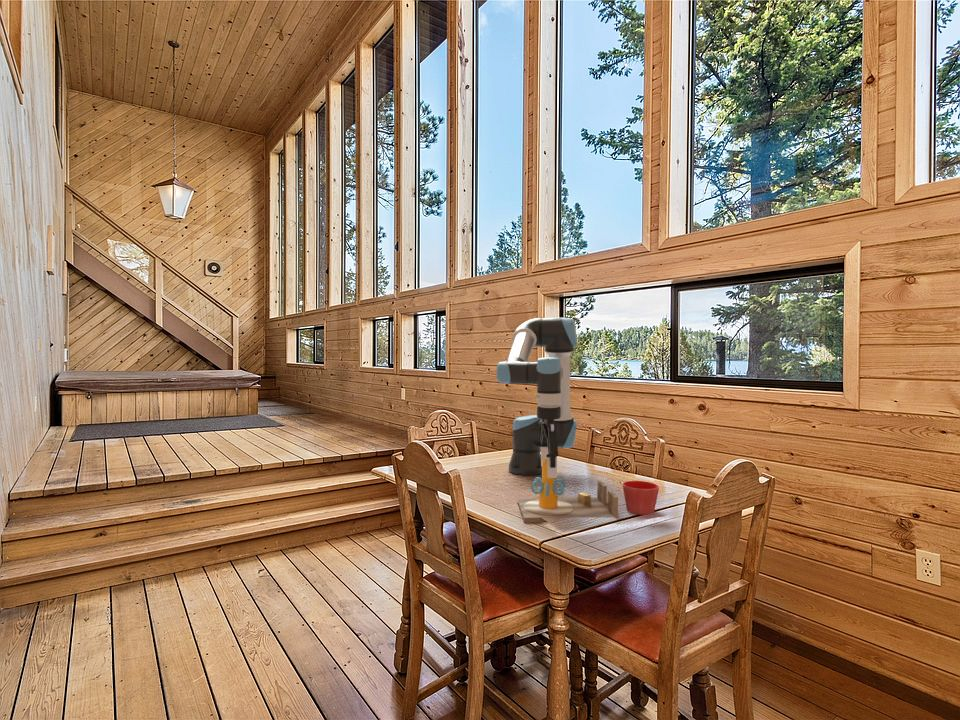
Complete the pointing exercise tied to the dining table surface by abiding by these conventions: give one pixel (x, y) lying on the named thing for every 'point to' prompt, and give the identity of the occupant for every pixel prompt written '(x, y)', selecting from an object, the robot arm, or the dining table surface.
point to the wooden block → (584, 498)
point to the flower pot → (640, 496)
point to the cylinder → (547, 488)
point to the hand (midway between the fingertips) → (548, 471)
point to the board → (571, 507)
